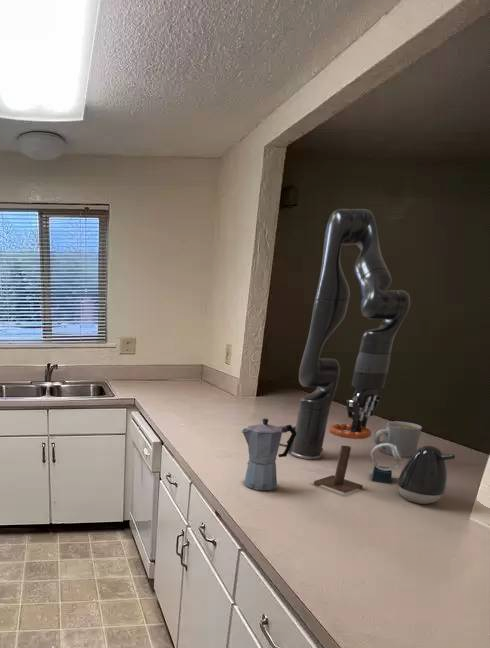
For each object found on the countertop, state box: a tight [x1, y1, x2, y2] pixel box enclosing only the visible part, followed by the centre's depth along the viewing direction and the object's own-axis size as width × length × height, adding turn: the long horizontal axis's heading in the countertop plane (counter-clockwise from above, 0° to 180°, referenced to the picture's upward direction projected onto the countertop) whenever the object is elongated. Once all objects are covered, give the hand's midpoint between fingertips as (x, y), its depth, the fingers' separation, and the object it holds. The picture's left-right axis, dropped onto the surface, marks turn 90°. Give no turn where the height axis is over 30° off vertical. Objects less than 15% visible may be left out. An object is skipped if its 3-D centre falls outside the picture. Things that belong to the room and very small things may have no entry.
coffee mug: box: [374, 421, 423, 458], centre depth 153 cm, size 13×10×10 cm
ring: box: [328, 423, 372, 440], centre depth 119 cm, size 10×10×2 cm
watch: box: [370, 443, 403, 484], centre depth 129 cm, size 6×8×11 cm
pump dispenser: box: [396, 445, 456, 505], centre depth 114 cm, size 10×10×15 cm
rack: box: [313, 445, 364, 494], centre depth 123 cm, size 9×9×12 cm
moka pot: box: [241, 418, 297, 491], centre depth 123 cm, size 10×15×20 cm, turn 95°
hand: (357, 431), depth 122 cm, fingers closed on ring, 2 cm apart
